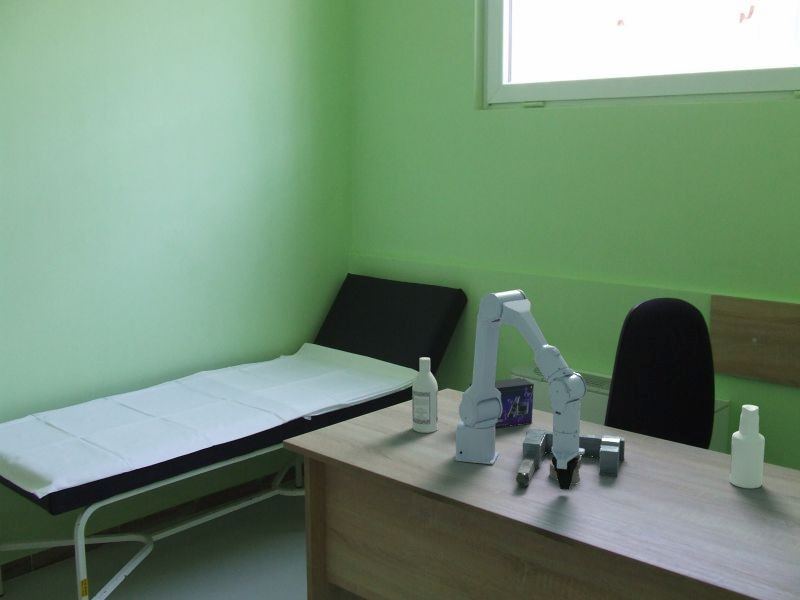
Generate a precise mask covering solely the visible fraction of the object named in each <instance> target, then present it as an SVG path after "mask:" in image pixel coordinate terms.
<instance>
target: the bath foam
mask: <svg viewBox="0 0 800 600" xmlns="http://www.w3.org/2000/svg"><path fill="white" fill-rule="evenodd" d="M418 362H419V368H418V369H419V372H418V373H417V374H416V376H415V378H414V380H413V382H412V389H411V390H412V391H411V393H412V398H411V401H412V402H411V403H412V410H411V411H412V430H413V431H414V432H417V433H421V434H430V433H434V432H436V431H437V430H438V428H439V388H438V382H437V380H436V378H435V376H434V374H433V373H432V372H431V358H430V357H425V356H424V357H423V356H422V357H419V361H418Z"/></svg>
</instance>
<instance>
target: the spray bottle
mask: <svg viewBox="0 0 800 600" xmlns="http://www.w3.org/2000/svg"><path fill="white" fill-rule="evenodd" d="M759 410H760V409H759V406H757V405H755V404H754V405H752V404H743V405H742V406H741V414H740V420H739V428H738V431H737V430H736V431H735V432H733V433H732V434H731V435H732V436H731V447H730V449H731V450H730V463H729V464H730V465H729V482H730V483H731V485H733V486H736V487H739V488H741V489H758V488H760V487H762V483H763V472H764V457H765V446H766V443H765V442H766V439H765V436H764V435H762V433H760V415H759V412H760V411H759Z"/></svg>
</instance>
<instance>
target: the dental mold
mask: <svg viewBox="0 0 800 600" xmlns="http://www.w3.org/2000/svg"><path fill="white" fill-rule="evenodd" d="M581 465H582V456H580V454H579V460H578V464H577V466H576V467H575V469H574V472H573V476H572V481H571V483H573V484H572V485H577V484H576V483H579V482H580V481H581V476H580V469H581ZM549 474H550V475H549ZM549 474H548V475H549V477H550V476H551V477H552V479H553V478H554V480H557V479H558V478H557V473H556V470H555V468H554V466H553V464H552V463H550V464H549ZM551 477H550V478H551Z"/></svg>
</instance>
